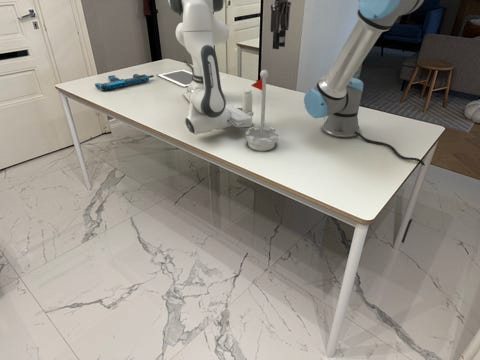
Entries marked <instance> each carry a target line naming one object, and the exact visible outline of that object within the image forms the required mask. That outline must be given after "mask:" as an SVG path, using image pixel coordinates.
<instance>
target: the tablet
mask: <svg viewBox="0 0 480 360" xmlns="http://www.w3.org/2000/svg"><path fill="white" fill-rule="evenodd" d="M192 74H193V72H192V71H188V70H186V69H179V70H174V71H170V72H164V73H160V74H157V75H156V76H157V77H159V78H162V79H165V80H167V81H169V82H171V83H174V84H176V85H178V86H180V87H181V88H182V87H183V88H188V85H189V84H190V83H191V82H192Z"/></svg>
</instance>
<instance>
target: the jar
mask: <svg viewBox="0 0 480 360" xmlns="http://www.w3.org/2000/svg"><path fill="white" fill-rule="evenodd" d="M242 92H243V93H242V94H241V95H242V96H241V98H242V99H241V101H242V103H241V108H242V111H243V112H244V113H248V112H249V111H252V112H253V95H254V94H253V93H252V89H251V88H245V89H243V90H242ZM251 117H252V118H253V116H251ZM251 127H253V123H252V124H251V125H249V126H244V127H243V128H251Z"/></svg>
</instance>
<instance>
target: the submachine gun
mask: <svg viewBox="0 0 480 360" xmlns="http://www.w3.org/2000/svg"><path fill="white" fill-rule="evenodd" d="M107 77H108V80H109V82H103V83H100V82H96V83H94V86H95V88H97V89H98V90H100V91H107V90H113V91H114V90H115V89H116V88H120V87H125V86H129V85H134V84H138V83H139V84H140V83H145V82H146V83H147V81H148V80H150V79H151V78H154V77H155V76H154V74H151V75H147V74H138V73H134V74H133V75H132V77H129V78H121V79H120V78H118V77H117V76H116V75H113V74H112V75H108V76H107Z"/></svg>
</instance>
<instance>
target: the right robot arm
mask: <svg viewBox="0 0 480 360" xmlns="http://www.w3.org/2000/svg"><path fill="white" fill-rule="evenodd" d="M357 1H358V3H357V5H358V10H357V12H356V15H357V21H356V23H355V25H354V27H353V28H352V29H351V31H350V33H349V35H348V37H347V39H346V40H345V42H344V43H343V45H342V47H341V49H340V51H339V53H338V54H337V56H336V58H335V59H334V61H333V63H332V65H331V66H330V68H329V69H328V71H327V73H326V75H323V76H321V77H320V78H319V79H318V81H317V82H316V84H315V86H314V87H313V88H309V89H308V90H307V91H305V94H304V97H303V104H304V109H305V110H306V112H307V114H308V115H309V116H310V117H312V118H314V119H321V118H322V119H323V121H324V123H323V126H322V130H323V132H324V133H325V134H326V135H329V136H332V137H335V138H339V139H341V138H342V139H349V138H354V137H356V136H358V137H360V138H361V139H362V140H363V141H365V142H367V143H372V144H376V145H381V146H385V147H388V148H390V149H391V150H392V151H393V153H394V154H395V155H396V157H398V158H401V159H403V160H407V161H416V162H418V163H419V164H420V165H421V166H426V164H425V163H424V161H423V160H422V159H420V158H417V157H410V156H409V157H408V156H404V155H402V154H401V153H400V152H398V151H397V149H396V148H395V147H394V146H393V145H391V144H390V143H387V142H382V141H377V140H372V139H369V138H366V137H364V136H363V135H362V134H361V133H359V132H360V125H359V118H358V117H359V116H358V114H359V111H360V110H359V109H360V105H361V100H362V95H363V92H364V82H363V81H362V79H359V78H355V77H354V76H355V74H356V72H357V71H358V69H360V67H361V65H362V64H363V62H364V60H365V59H366V57H367V56H368V54H369V53H370V52H371V50H372V48H373V46H374V45H375V44H376V43H377V40H378V39H379V37H380V36H381V35H382V33H384V32H387V31H389V30H390V29H391V28H392V27H393V25H394V23H395V22H396V21H397V19H398V17H400V16H405V15H409V14H411V13H413V12H415V11H416V10H417V9H419V8H420V6H422V5H423V3H424V1H425V0H357ZM291 5H292V2H291V1H289V0H274V4H271V5H270V11H271V12H270V13H271V14H270V33H272V49H273V50H280V48H281V47H282V48H284V47H285V46H286V41H285V42H281V43H279V40H280V35H283V36H285V37H287V35H286V33H287V31H289V28H290V27H289V26H290V16H291V15H290V13H291ZM325 117H326V118H325ZM412 222H413V218H411V219H409V220H408V222H407V225H406V228H405V230H404V233H403V236H402V239H401V243H402V244H404V243H405V241H406V237H407V235H408V232H409V229H410V226H411V224H412Z"/></svg>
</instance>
